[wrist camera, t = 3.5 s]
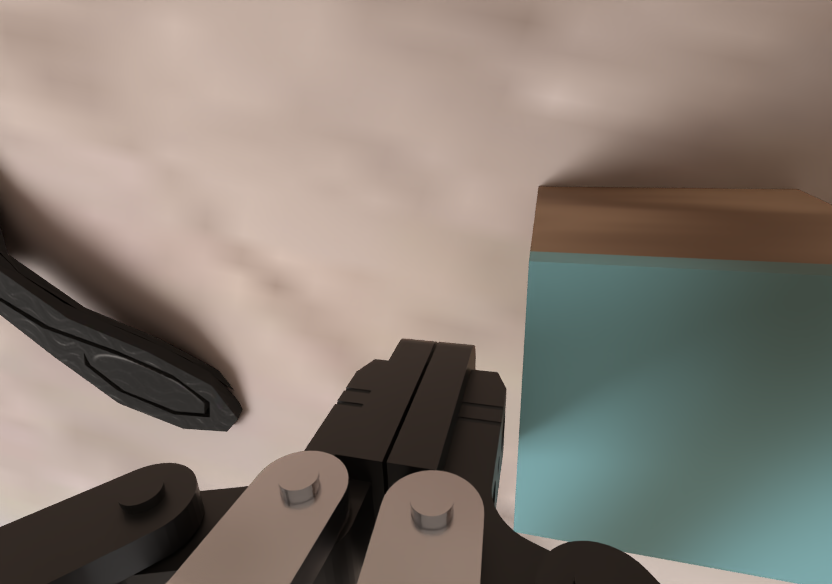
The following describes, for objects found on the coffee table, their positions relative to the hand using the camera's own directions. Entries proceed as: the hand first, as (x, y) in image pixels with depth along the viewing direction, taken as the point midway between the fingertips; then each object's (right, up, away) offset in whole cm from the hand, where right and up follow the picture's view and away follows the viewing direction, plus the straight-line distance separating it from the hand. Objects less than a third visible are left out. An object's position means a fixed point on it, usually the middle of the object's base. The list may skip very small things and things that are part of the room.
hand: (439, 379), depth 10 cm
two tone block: (+6, +2, +3) cm, 7 cm away
